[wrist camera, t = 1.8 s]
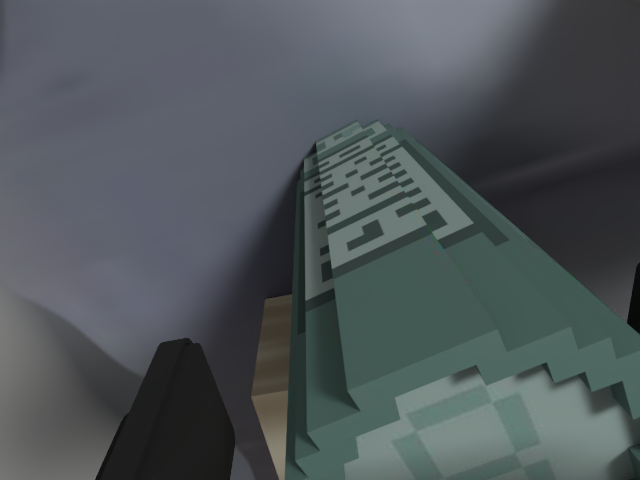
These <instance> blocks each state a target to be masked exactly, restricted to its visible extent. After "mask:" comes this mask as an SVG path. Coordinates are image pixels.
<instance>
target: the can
mask: <svg viewBox="0 0 640 480" xmlns="http://www.w3.org/2000/svg"><path fill="white" fill-rule="evenodd" d="M316 148H317V151H316V152H315V153H313V154H311V155H309V156H307V157H305V158H304V168H303V169H301V170H300V180H298V181H297V191H296V215H295V239H294V264H293V288H292V312H291V336H290V360H289V384H288V408H287V432H286V456H285V480H640V334H639V333H637V332H636V331H635V330H634V329H633V328H632V327H630V326H629V325H628V324H627V323H626V322H625V321H624V320H622V319H621V318H620V317H619V316H618V315H617V314H616V313H614V312H613V311H612V310H611V309H610V308H609V307H608V306H606V305H605V304H604V303H603V302H602V301H601V300H600V299H598V298H597V297H596V296H595V295H594V294H593V293H592V292H590V291H589V290H588V289H587V288H586V287H585V286H583V285H582V284H581V283H580V282H579V281H578V280H577V279H575V278H574V277H573V276H572V275H571V274H570V273H569V272H567V271H566V270H565V269H564V268H563V267H562V266H561V265H559V264H558V263H557V262H556V261H555V260H554V259H553V258H551V257H550V256H549V255H548V254H547V253H546V252H545V251H543V250H542V249H541V248H540V247H539V246H538V245H537V244H535V243H534V242H533V241H532V240H531V239H530V238H528V237H527V236H526V235H525V234H524V233H523V232H522V231H520V230H519V229H518V228H517V227H516V226H515V225H514V224H512V223H511V222H510V221H509V220H508V219H507V218H506V217H504V216H503V215H502V214H501V213H500V212H499V211H498V210H496V209H495V208H494V207H493V206H492V205H491V204H490V203H488V202H487V201H486V200H485V199H484V198H483V197H482V196H480V195H479V194H478V193H477V192H476V191H475V190H473V189H472V188H471V187H470V186H469V185H468V184H467V183H465V182H464V181H463V180H462V179H461V178H460V177H459V176H457V175H456V174H455V173H454V172H453V171H452V170H451V169H449V168H448V167H447V166H446V165H445V164H444V163H443V162H441V161H440V160H439V159H438V158H437V157H436V156H435V155H433V154H432V153H431V152H430V151H429V150H428V149H426V148H425V147H424V146H423V145H422V144H421V143H420V142H418V141H417V140H414V139H413V138H412V137H411V136H410V135H409V134H408V133H407V132H405V131H404V130H403V129H402V128H399V129H397V130H395V129H394V128H393V127H392V126H391V125H390V124H388V125H386V126H384V127H383V126H382V125H381V123H380V122H379V121H378V120H376V121H374V122H372V123H370V124H368V125H366V126H364V127H362V128H361V126H360V125H359V123H358V122H357V120H356V121H354V122H352V123H350V124H348V125H346V126H345V127H343V128H341V129H339V130H337V131H335V132H333V133H331V134H329V135H328V136H326V137H324V138H322V139H320V140H318V141H316Z"/></svg>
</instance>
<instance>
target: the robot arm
mask: <svg viewBox="0 0 640 480" xmlns="http://www.w3.org/2000/svg"><path fill="white" fill-rule="evenodd" d="M627 324H628V325H629V326H630V327H632V328H633V329H634V330H635V331H636V332H637V333H639V334H640V263H639V264H638V265H637V268H636V272H635V278H634V284H633V290H632V296H631V302H630V308H629V314H628V320H627ZM234 448H235V435H234V430H233V427H232V424H231V421H230V419H229V416H228V414H227V411H226V409H225V406H224V403H223V401H222V398H221V396H220V393H219V391H218V388H217V385H216V383H215V380H214V378H213V375H212V373H211V370H210V367H209V365H208V362H207V360H206V357H205V355H204V352H203V350H202V347H201V345H200V344H199V343H194V344H193V343H192V341H191V340H190V339H189V338H184V339H178V340H173V341H167V342H162V343H161V344H160V345H159V346H158V348H157V351H156V353H155V355H154V357H153V360H152V362H151V364H150V366H149V369H148V371H147V373H146V376H145V378H144V380H143V383H142V385H141V387H140V389H139V392H138V394H137V396H136V399H135V401H134V403H133V405H132V408H131V410H130V412H129V413H128V414H127V415H126V416H125V417H124V418H123V420H122V421H121V423H120V425H119V428H118V430H117V432H116V434H115V436H114V439H113V441H112V443H111V445H110V448H109V450H108V452H107V454H106V457H105V459H104V461H103V463H102V466H101V468H100V470H99V472H98V474H97V476H96V479H95V480H230V475H231V468H232V461H233V454H234Z"/></svg>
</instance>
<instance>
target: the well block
mask: <svg viewBox="0 0 640 480" xmlns="http://www.w3.org/2000/svg"><path fill="white" fill-rule="evenodd" d="M291 312H292V294H291V295H285V296H280V297H274V298H268V299H265V304H264V311H263V318H262V325H261V331H260V338H259V345H258V352H257V359H256V366H255V373H254V379H253V386H252V393H251V398H252V401H253V404H254V407H255V410H256V413H257V416H258V419H259V422H260V424H261V427H262V430H263V433H264V436H265V439H266V442H267V445H268V448H269V451H270V454H271V457H272V460H273V463H274V466H275V469H276V471H277V474H278V477H279V480H285V456H286V432H287V408H288V384H289V360H290V336H291Z"/></svg>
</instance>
